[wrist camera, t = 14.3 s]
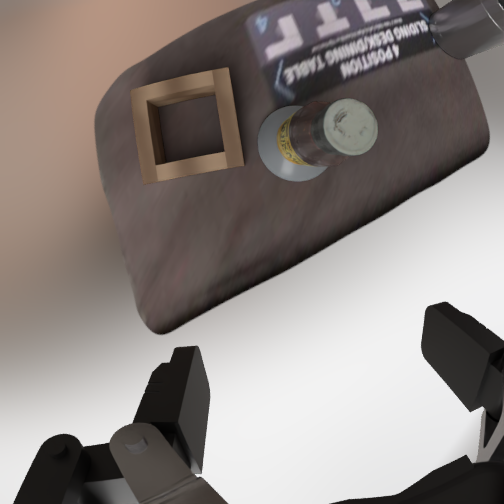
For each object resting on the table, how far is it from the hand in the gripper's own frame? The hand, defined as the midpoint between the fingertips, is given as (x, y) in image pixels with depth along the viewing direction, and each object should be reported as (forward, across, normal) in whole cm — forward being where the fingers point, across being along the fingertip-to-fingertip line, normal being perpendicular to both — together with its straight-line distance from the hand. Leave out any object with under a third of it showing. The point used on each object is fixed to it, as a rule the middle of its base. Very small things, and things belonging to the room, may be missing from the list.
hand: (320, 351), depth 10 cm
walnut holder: (+32, +7, -13) cm, 35 cm away
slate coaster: (+31, -6, -9) cm, 33 cm away
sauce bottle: (+31, -6, -9) cm, 33 cm away
